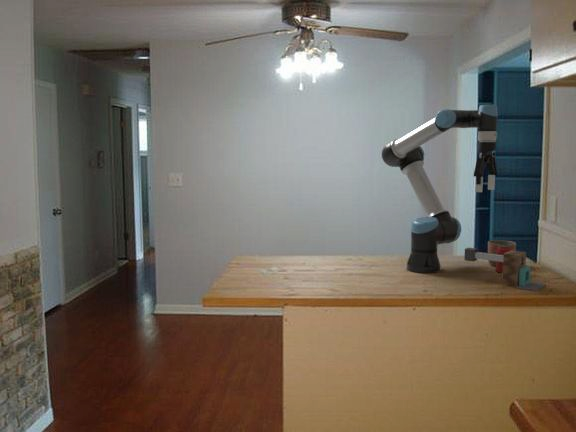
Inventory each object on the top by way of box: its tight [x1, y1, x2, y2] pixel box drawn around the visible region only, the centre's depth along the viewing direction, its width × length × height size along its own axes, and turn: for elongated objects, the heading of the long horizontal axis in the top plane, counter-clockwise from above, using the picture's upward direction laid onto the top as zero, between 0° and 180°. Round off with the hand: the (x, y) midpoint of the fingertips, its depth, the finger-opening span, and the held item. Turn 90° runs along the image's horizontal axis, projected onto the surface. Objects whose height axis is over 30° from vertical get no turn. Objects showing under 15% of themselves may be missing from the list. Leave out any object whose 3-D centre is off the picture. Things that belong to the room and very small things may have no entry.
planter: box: [487, 239, 517, 267], centre depth 277 cm, size 12×12×11 cm
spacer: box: [519, 265, 531, 286], centre depth 239 cm, size 2×7×7 cm, turn 140°
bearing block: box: [501, 250, 527, 288], centre depth 241 cm, size 6×9×13 cm, turn 140°
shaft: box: [463, 247, 522, 263], centre depth 247 cm, size 23×4×5 cm, turn 50°
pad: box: [516, 281, 547, 292], centre depth 238 cm, size 8×12×1 cm, turn 140°
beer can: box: [495, 244, 512, 274], centre depth 263 cm, size 7×7×12 cm
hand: (485, 191), depth 255 cm, fingers open, 13 cm apart
